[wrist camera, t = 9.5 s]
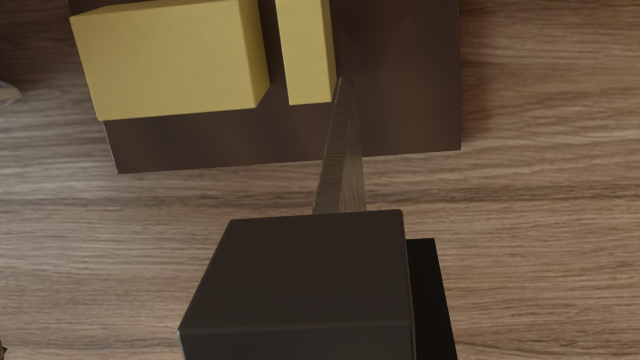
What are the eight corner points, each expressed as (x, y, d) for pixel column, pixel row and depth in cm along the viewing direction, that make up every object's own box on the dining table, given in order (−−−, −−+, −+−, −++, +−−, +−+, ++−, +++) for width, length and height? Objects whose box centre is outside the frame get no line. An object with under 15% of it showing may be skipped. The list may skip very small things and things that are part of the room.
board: (454, -138, 26) (458, -141, 25) (458, 142, 32) (461, 150, 31) (56, -85, 29) (43, -85, 28) (124, 166, 34) (116, 174, 33)
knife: (305, 61, 15) (174, 331, 5) (386, 53, 15) (414, 322, 5) (338, 326, 19) (299, 789, 9) (404, 323, 19) (442, 798, 9)
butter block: (256, -11, 28) (238, -2, 25) (270, 86, 30) (256, 108, 27) (106, 5, 29) (67, 17, 26) (129, 98, 31) (97, 121, 28)
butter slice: (327, -19, 28) (319, -11, 24) (336, 80, 30) (331, 102, 26) (287, -15, 28) (274, -6, 24) (299, 83, 30) (289, 105, 26)
